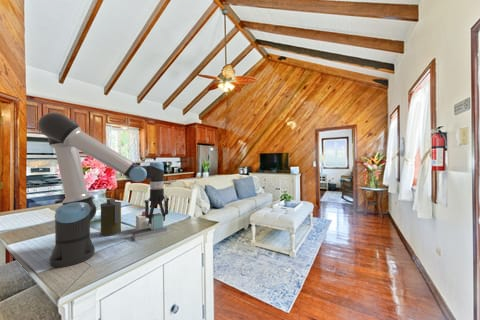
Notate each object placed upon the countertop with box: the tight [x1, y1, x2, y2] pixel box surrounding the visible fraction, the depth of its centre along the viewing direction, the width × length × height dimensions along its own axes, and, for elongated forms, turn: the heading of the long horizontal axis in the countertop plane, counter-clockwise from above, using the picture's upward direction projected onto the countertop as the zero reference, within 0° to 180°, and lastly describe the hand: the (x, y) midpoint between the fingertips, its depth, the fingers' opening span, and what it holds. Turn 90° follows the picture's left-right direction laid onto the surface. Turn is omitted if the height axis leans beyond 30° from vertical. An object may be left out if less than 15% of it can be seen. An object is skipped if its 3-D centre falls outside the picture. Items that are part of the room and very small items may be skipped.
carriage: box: [151, 212, 164, 231], centre depth 116 cm, size 5×5×10 cm
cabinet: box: [135, 213, 151, 230], centre depth 122 cm, size 9×9×9 cm
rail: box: [131, 227, 168, 242], centre depth 113 cm, size 17×7×3 cm, turn 130°
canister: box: [99, 198, 122, 237], centre depth 116 cm, size 11×10×20 cm
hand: (157, 227), depth 116 cm, fingers closed on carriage, 5 cm apart
